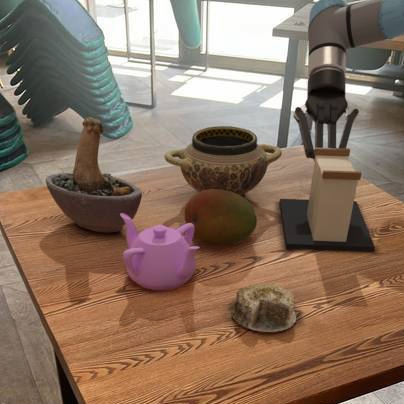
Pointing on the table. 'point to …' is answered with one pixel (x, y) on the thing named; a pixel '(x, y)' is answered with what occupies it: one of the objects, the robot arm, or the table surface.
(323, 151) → the cream rectangular block
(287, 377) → the table surface
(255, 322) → the cake
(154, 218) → the table surface
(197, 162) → the ceramic bowl
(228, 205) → the fruit
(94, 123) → the planter
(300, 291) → the table surface
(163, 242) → the teapot
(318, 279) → the table surface
